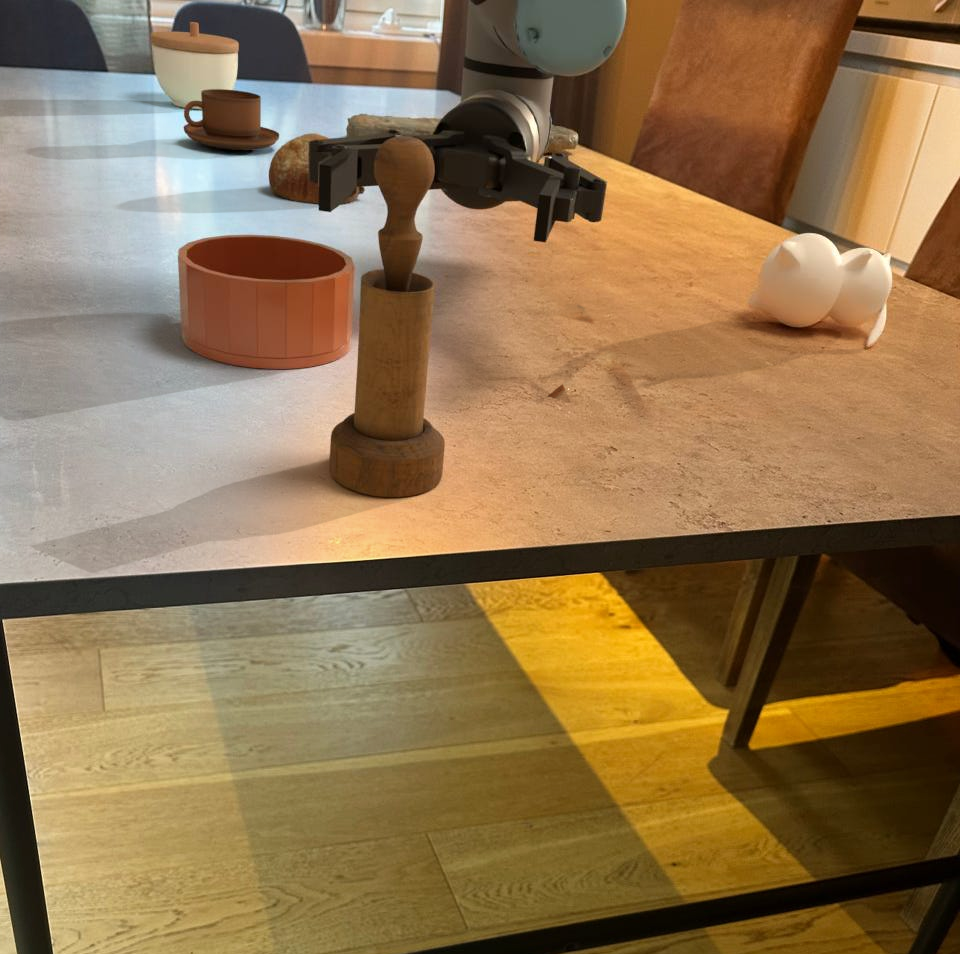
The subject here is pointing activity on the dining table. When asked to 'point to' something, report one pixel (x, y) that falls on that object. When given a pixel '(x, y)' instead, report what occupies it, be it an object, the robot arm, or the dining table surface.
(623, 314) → the dining table surface
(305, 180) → the bread roll
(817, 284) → the cat figurine
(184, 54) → the lidded bowl
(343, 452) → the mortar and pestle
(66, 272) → the dining table surface
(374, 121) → the long grey stone
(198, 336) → the crock
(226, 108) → the cup and saucer
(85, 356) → the dining table surface
